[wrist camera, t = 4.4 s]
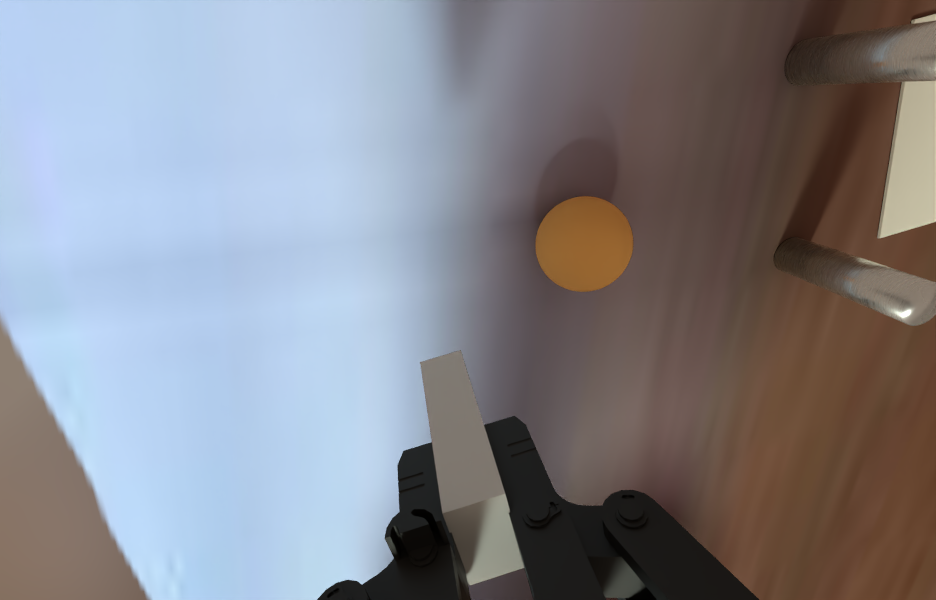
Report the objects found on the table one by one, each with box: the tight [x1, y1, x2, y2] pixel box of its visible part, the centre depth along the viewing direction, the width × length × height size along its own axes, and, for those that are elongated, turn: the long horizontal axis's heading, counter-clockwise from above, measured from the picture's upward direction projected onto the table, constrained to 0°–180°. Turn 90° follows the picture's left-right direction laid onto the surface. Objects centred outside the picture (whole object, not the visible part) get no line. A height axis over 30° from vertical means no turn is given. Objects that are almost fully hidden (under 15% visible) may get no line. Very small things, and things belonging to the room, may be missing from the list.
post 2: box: [774, 237, 936, 326], centre depth 29 cm, size 2×2×9 cm
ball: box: [535, 196, 633, 292], centre depth 27 cm, size 6×6×6 cm
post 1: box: [785, 21, 936, 86], centre depth 24 cm, size 2×2×9 cm
